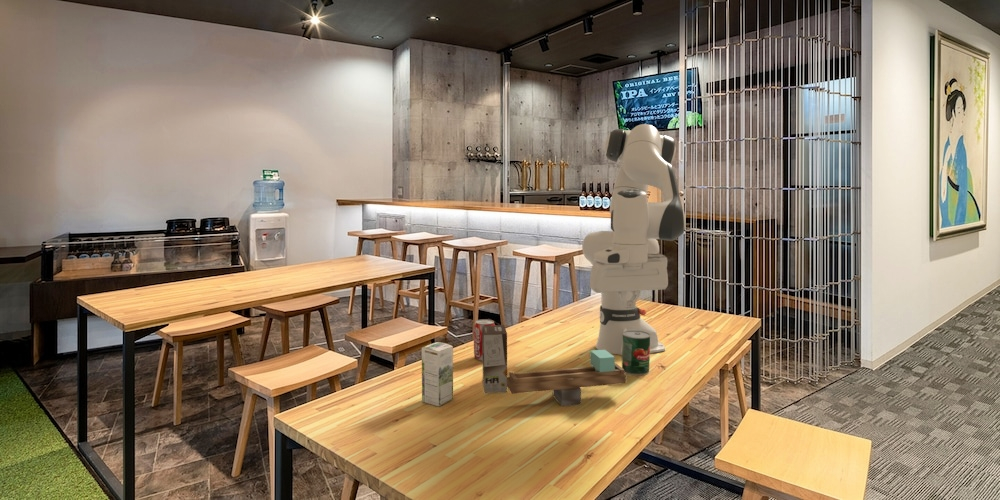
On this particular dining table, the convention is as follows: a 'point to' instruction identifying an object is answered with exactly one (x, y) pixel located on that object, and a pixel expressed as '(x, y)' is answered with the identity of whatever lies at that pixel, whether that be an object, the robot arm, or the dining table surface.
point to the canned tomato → (636, 352)
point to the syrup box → (437, 373)
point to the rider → (602, 360)
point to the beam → (564, 382)
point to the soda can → (480, 336)
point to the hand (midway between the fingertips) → (628, 307)
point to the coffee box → (494, 358)
